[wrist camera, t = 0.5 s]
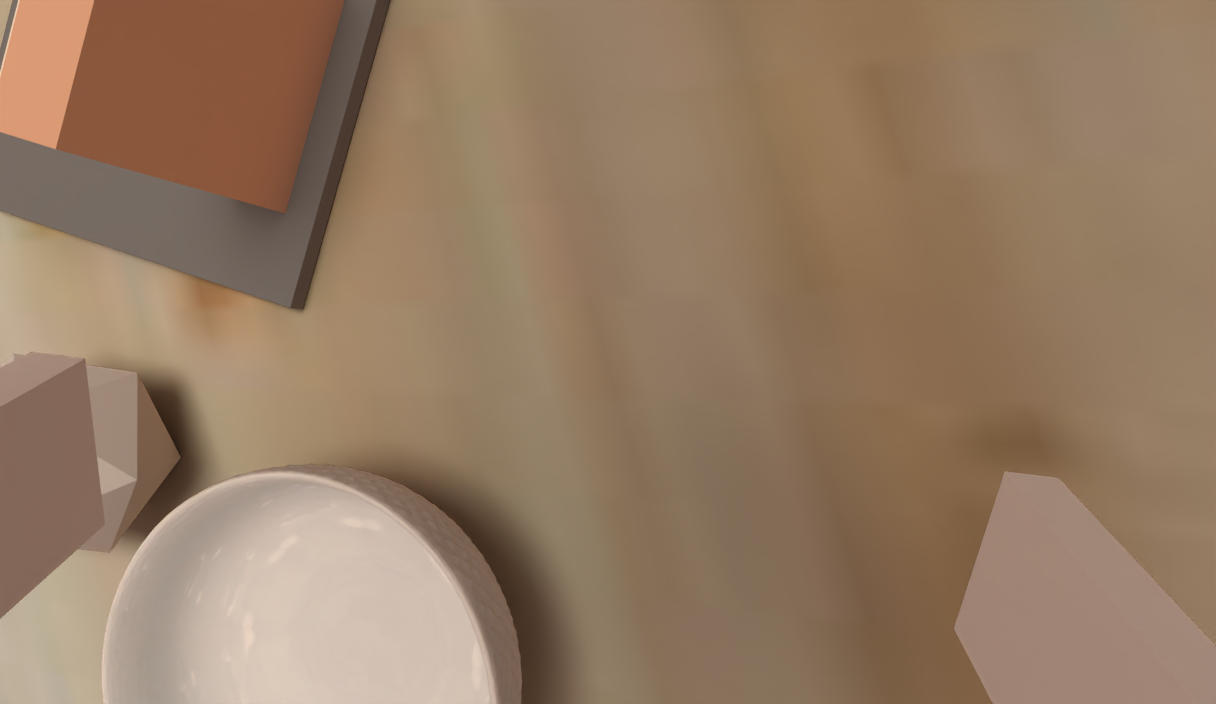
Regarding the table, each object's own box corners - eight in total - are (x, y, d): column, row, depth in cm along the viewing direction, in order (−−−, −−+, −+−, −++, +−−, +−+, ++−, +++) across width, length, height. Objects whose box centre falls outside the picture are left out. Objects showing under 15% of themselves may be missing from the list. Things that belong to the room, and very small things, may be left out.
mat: (71, -150, 41) (53, -163, 40) (411, -76, 37) (401, -87, 36) (-19, 201, 42) (-38, 197, 41) (302, 309, 38) (290, 308, 37)
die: (193, 334, 40) (-59, 305, 34) (218, 472, 35) (-75, 468, 29) (151, 446, 44) (-83, 438, 38) (167, 584, 39) (-101, 602, 33)
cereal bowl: (167, 524, 40) (37, 561, 33) (467, 391, 37) (393, 400, 30) (292, 868, 38) (184, 981, 32) (616, 761, 35) (574, 861, 28)
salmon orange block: (288, -19, 37) (59, -189, 26) (345, -5, 37) (139, -173, 25) (229, 196, 38) (-20, 125, 26) (285, 213, 37) (55, 149, 26)
